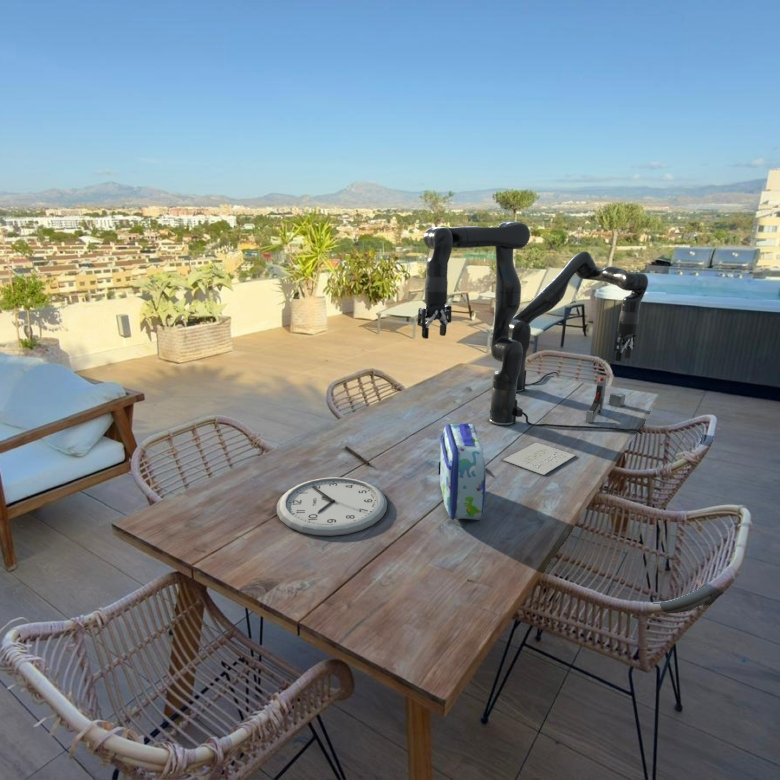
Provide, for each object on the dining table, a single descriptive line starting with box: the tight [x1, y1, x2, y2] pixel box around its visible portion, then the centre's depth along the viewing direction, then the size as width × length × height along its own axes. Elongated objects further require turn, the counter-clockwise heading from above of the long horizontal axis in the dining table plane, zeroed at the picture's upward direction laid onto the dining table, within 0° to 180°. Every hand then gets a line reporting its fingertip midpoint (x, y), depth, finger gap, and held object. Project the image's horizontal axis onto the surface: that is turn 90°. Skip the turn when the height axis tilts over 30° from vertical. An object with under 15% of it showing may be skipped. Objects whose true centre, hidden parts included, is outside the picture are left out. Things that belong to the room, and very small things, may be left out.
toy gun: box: [585, 376, 607, 424], centre depth 210 cm, size 2×16×15 cm
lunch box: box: [438, 422, 486, 521], centre depth 142 cm, size 26×11×21 cm, turn 179°
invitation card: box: [502, 442, 577, 476], centre depth 174 cm, size 21×1×15 cm
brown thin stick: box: [344, 445, 370, 465], centre depth 173 cm, size 15×1×1 cm, turn 34°
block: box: [608, 391, 626, 408], centre depth 229 cm, size 5×4×5 cm
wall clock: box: [276, 476, 388, 537], centre depth 142 cm, size 30×2×30 cm
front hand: (434, 336), depth 180 cm, fingers open, 8 cm apart
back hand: (622, 359), depth 223 cm, fingers open, 8 cm apart
